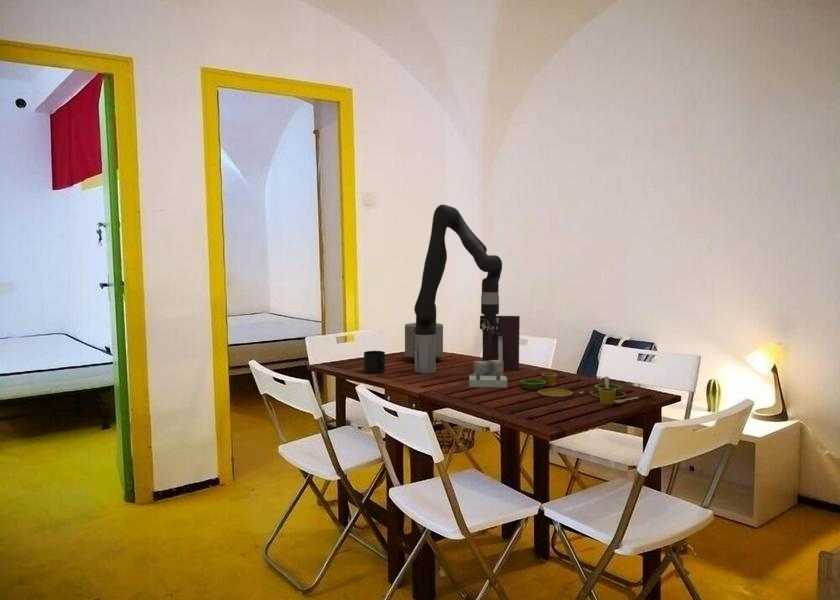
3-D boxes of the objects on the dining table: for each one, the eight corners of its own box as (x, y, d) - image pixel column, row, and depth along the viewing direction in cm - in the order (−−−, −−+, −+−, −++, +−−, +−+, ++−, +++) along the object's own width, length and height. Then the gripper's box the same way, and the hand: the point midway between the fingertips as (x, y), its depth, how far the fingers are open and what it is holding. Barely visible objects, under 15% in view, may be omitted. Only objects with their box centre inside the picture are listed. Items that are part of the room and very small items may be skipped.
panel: (477, 382, 265) (477, 363, 265) (473, 380, 269) (473, 361, 268) (503, 380, 269) (503, 361, 269) (499, 378, 273) (499, 359, 273)
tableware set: (644, 401, 233) (644, 383, 232) (590, 410, 218) (590, 392, 218) (563, 382, 268) (564, 367, 267) (512, 389, 253) (512, 373, 253)
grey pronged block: (469, 387, 254) (469, 369, 254) (469, 382, 263) (469, 365, 263) (507, 387, 253) (507, 370, 253) (505, 383, 262) (506, 366, 262)
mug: (374, 375, 279) (374, 355, 278) (359, 371, 288) (359, 351, 288) (392, 373, 285) (392, 353, 284) (377, 369, 294) (377, 350, 293)
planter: (450, 360, 318) (450, 324, 317) (424, 365, 304) (424, 327, 303) (423, 356, 331) (423, 321, 330) (396, 361, 317) (396, 324, 316)
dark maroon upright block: (518, 369, 293) (519, 315, 291) (520, 373, 283) (520, 317, 281) (482, 369, 294) (482, 315, 292) (482, 373, 285) (482, 317, 283)
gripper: (506, 303, 262) (505, 342, 263) (490, 301, 275) (489, 338, 277) (489, 304, 259) (489, 343, 261) (474, 302, 273) (474, 339, 274)
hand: (489, 341), depth 269 cm, fingers open, 8 cm apart
